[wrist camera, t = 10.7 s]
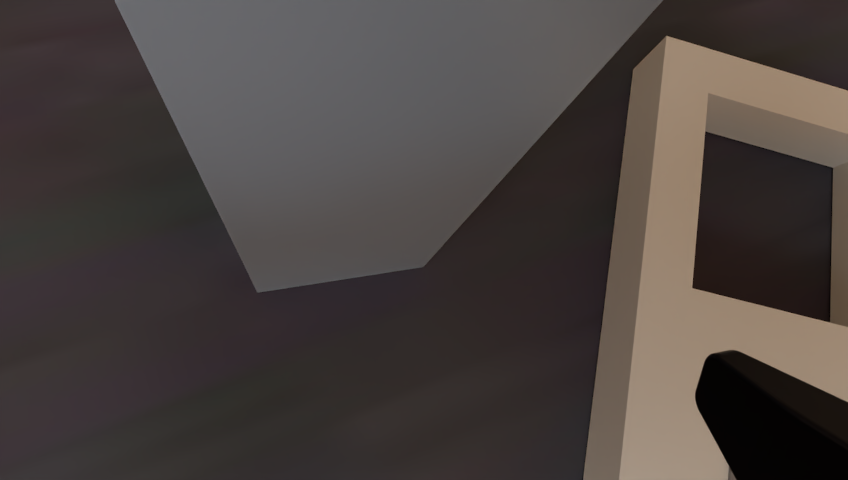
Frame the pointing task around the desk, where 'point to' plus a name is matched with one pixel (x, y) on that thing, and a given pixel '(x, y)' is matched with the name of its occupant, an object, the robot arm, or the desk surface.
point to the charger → (364, 114)
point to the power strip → (675, 253)
